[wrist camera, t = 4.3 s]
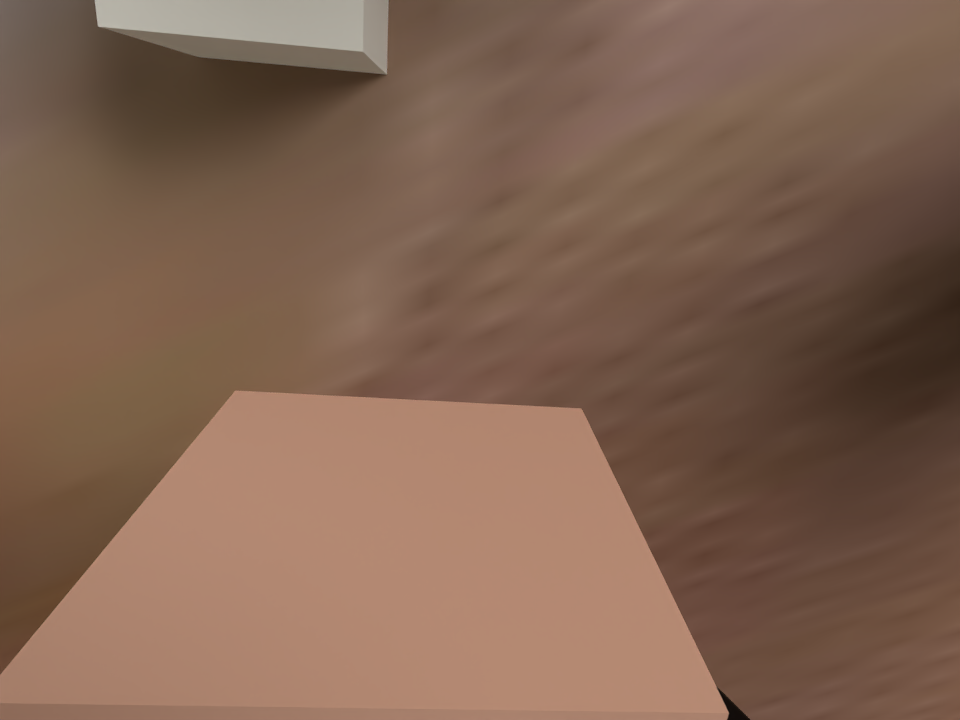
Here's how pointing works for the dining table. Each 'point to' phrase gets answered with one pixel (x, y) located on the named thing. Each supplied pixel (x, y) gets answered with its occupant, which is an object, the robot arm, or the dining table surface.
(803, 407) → the dining table surface
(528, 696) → the terracotta block
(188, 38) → the offwhite block
